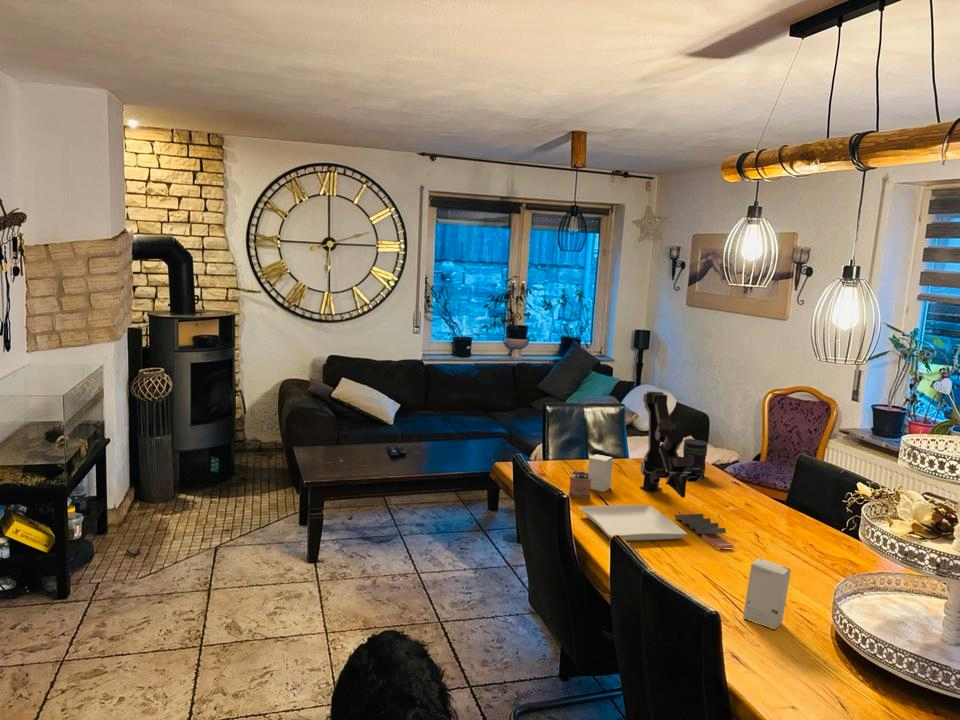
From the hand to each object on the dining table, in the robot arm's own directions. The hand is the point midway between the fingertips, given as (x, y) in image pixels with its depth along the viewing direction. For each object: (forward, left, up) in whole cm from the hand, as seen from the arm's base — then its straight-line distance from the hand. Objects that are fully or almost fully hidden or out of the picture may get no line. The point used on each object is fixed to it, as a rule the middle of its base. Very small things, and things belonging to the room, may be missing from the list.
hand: (683, 497), depth 247 cm
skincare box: (+50, +52, -8) cm, 73 cm away
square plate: (+22, -6, -9) cm, 25 cm away
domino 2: (+2, +4, -7) cm, 8 cm away
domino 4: (+6, +11, -7) cm, 15 cm away
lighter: (+10, -37, -8) cm, 39 cm away
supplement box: (-5, -39, -8) cm, 40 cm away
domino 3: (+4, +8, -7) cm, 12 cm away
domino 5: (+9, +15, -7) cm, 19 cm away
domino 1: (0, 0, -7) cm, 7 cm away
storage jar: (-55, -26, -8) cm, 61 cm away
